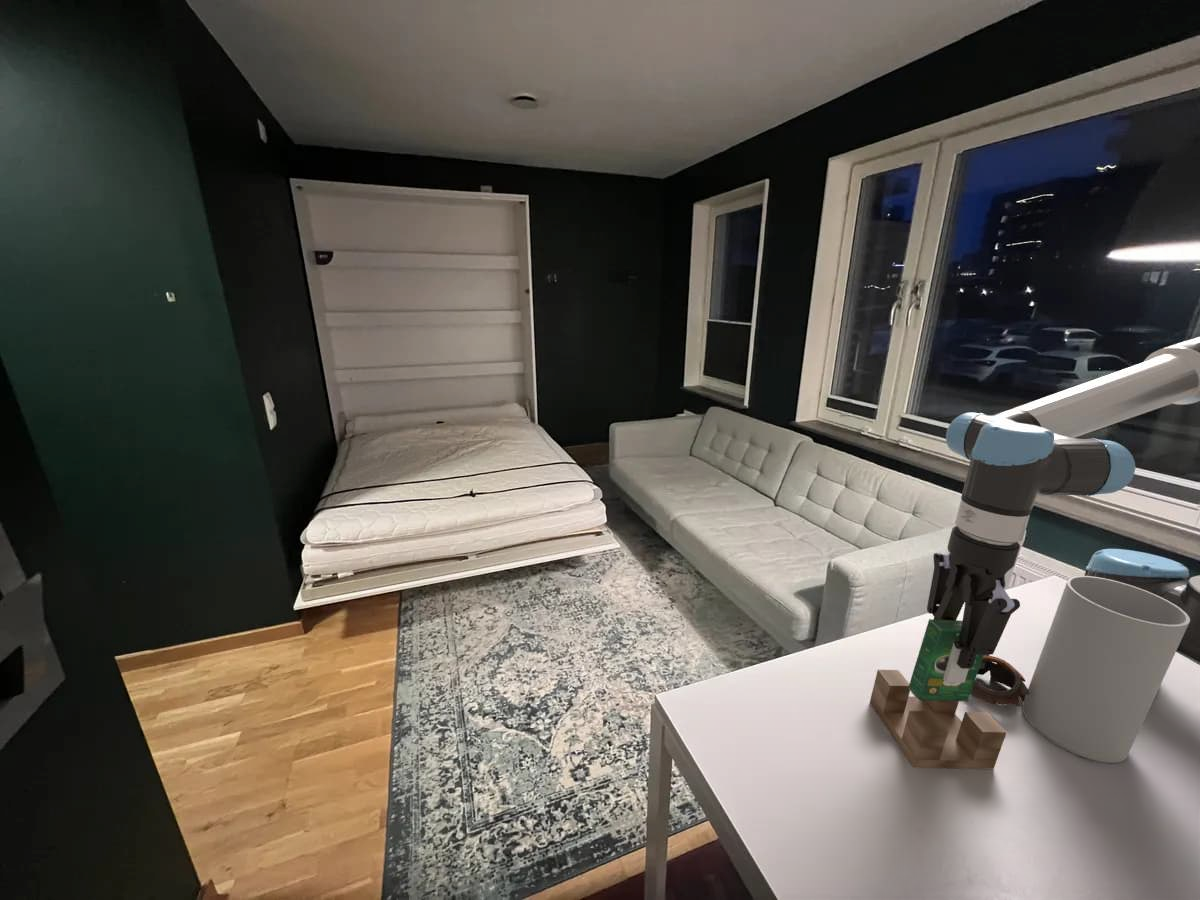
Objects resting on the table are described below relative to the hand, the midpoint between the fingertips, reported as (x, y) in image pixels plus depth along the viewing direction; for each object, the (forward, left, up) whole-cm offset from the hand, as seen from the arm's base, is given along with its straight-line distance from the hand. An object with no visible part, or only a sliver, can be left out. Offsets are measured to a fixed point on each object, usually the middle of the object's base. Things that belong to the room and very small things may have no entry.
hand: (945, 671), depth 73 cm
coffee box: (0, 0, -5) cm, 5 cm away
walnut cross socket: (0, 0, -12) cm, 12 cm away
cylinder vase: (-17, -18, -12) cm, 27 cm away
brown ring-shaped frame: (-6, -19, -13) cm, 23 cm away
